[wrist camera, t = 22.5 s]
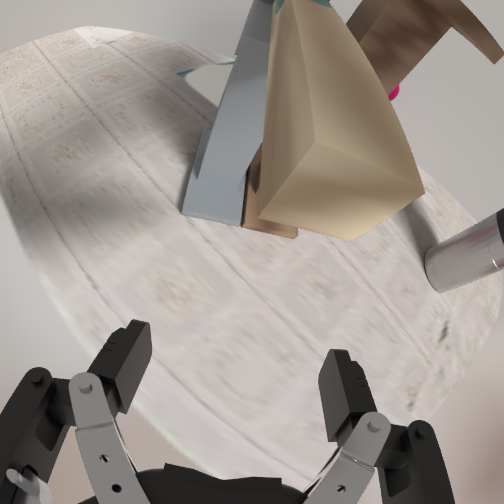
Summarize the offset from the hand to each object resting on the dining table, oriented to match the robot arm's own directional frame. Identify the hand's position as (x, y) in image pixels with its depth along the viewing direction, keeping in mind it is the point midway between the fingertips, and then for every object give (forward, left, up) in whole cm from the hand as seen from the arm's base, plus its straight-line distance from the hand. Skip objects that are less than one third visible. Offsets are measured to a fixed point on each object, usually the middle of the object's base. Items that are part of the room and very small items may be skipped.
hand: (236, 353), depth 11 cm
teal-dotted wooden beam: (0, -16, +6) cm, 17 cm away
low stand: (0, -22, -17) cm, 28 cm away
